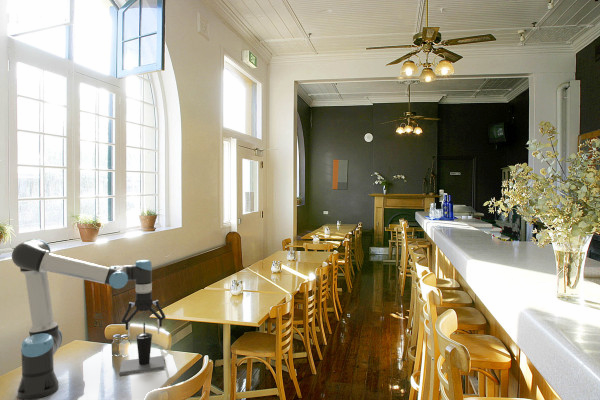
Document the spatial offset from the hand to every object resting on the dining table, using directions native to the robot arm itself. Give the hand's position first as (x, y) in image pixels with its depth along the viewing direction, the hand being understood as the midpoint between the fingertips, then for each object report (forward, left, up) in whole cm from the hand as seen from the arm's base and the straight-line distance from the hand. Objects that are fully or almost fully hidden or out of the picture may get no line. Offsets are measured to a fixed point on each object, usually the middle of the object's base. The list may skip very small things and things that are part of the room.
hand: (143, 334), depth 210 cm
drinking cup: (0, 0, -14) cm, 14 cm away
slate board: (-1, 0, -16) cm, 16 cm away
